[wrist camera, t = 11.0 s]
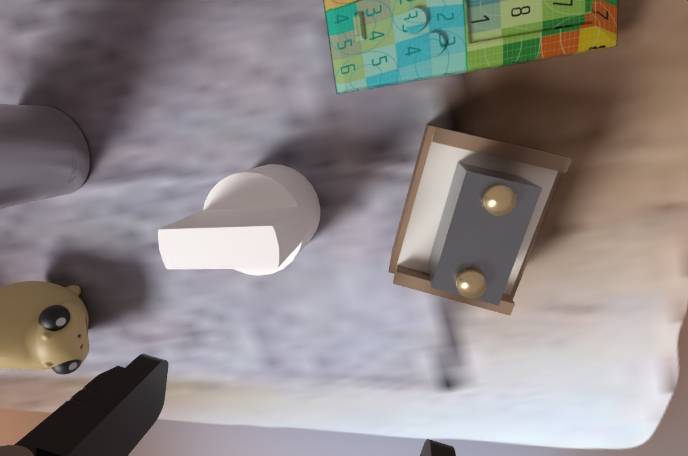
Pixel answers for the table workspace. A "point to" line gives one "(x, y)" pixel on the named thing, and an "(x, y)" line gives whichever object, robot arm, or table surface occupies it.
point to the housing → (481, 232)
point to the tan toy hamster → (42, 327)
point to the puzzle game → (457, 36)
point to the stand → (431, 196)
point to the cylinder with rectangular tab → (246, 224)
